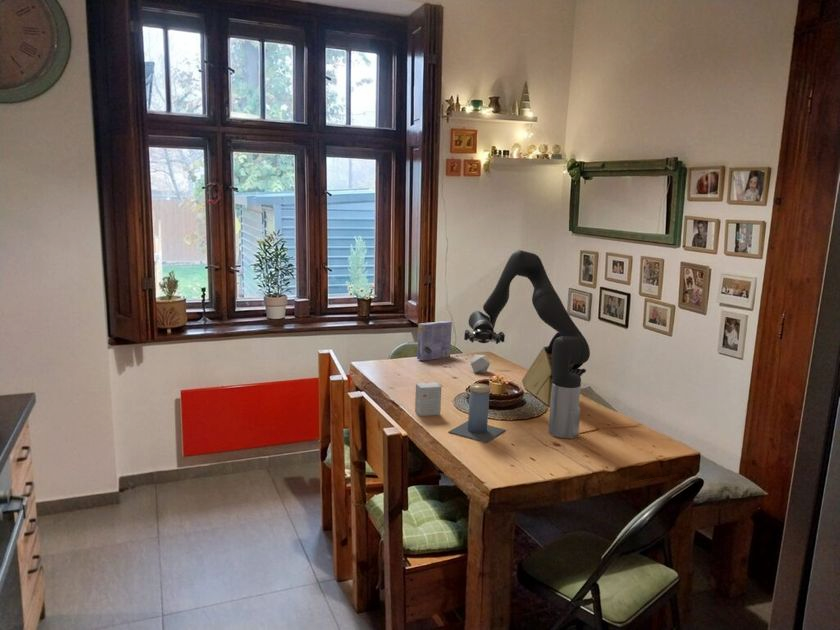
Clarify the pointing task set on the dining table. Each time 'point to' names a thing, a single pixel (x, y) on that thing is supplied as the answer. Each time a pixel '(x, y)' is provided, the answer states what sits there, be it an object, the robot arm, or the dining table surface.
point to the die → (480, 363)
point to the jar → (478, 408)
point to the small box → (428, 399)
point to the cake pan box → (434, 340)
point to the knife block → (545, 373)
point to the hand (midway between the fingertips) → (485, 340)
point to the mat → (485, 437)
